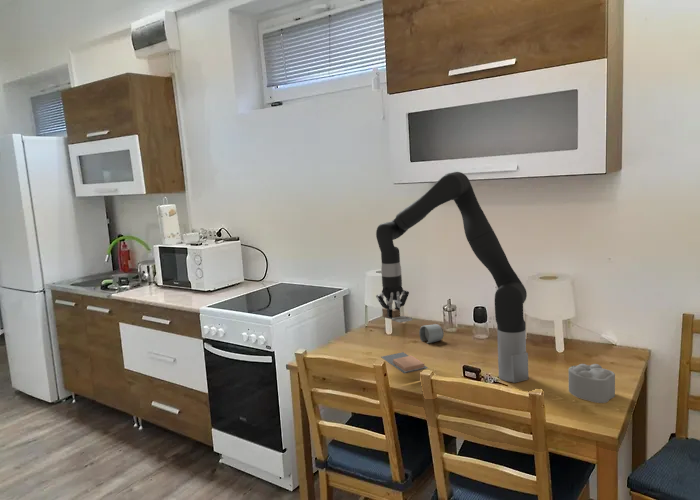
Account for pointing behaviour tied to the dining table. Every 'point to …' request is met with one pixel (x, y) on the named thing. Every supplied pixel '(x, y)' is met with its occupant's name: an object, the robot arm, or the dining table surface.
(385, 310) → the turner
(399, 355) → the mat
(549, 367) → the dining table surface
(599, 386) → the lumpy-topped squat cylinder
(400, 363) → the tile
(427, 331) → the ceramic mug
